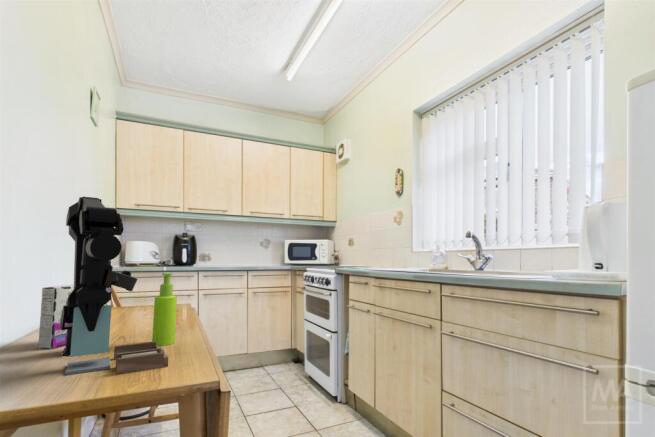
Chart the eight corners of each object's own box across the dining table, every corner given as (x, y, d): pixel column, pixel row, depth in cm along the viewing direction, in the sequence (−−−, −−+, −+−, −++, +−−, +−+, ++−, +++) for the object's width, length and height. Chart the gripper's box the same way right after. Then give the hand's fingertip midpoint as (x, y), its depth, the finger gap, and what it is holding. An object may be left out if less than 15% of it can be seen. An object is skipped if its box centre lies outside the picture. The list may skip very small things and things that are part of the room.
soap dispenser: (172, 339, 105) (175, 272, 107) (176, 344, 99) (179, 273, 101) (150, 341, 102) (154, 272, 104) (153, 346, 96) (157, 273, 98)
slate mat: (67, 365, 79) (68, 362, 79) (109, 359, 84) (109, 357, 84) (65, 375, 73) (65, 372, 73) (110, 368, 77) (110, 365, 77)
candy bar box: (73, 339, 105) (78, 283, 106) (87, 339, 104) (91, 284, 105) (35, 348, 94) (41, 286, 95) (51, 349, 93) (56, 287, 94)
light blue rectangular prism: (71, 352, 78) (74, 307, 79) (107, 348, 82) (110, 305, 83) (70, 356, 75) (73, 309, 76) (108, 352, 79) (111, 307, 80)
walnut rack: (114, 358, 85) (114, 345, 85) (159, 352, 90) (159, 340, 90) (116, 374, 73) (117, 359, 74) (167, 366, 79) (168, 352, 79)
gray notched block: (120, 369, 77) (121, 355, 78) (159, 363, 81) (160, 350, 82) (121, 372, 75) (122, 358, 76) (160, 366, 79) (161, 352, 80)
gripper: (140, 260, 77) (135, 333, 76) (132, 259, 93) (129, 319, 91) (78, 261, 71) (72, 339, 70) (82, 259, 87) (76, 324, 85)
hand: (91, 329), depth 79 cm, fingers closed on light blue rectangular prism, 4 cm apart
